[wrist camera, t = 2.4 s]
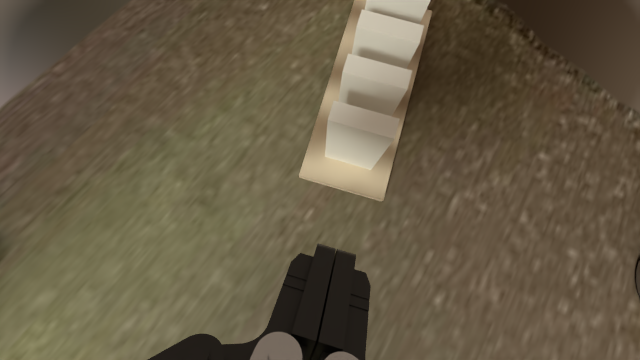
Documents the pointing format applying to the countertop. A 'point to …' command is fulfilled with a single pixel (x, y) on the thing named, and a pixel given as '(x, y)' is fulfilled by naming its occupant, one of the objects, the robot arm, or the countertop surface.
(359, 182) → the domino board
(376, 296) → the countertop surface
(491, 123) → the countertop surface
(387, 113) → the tile
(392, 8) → the tile
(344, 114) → the tile
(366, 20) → the tile
